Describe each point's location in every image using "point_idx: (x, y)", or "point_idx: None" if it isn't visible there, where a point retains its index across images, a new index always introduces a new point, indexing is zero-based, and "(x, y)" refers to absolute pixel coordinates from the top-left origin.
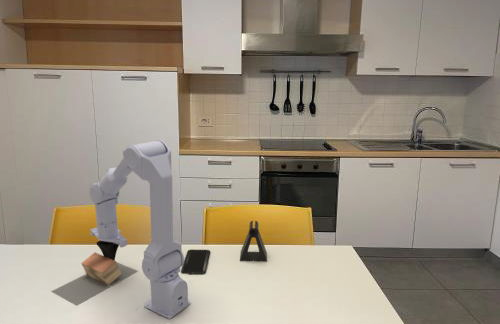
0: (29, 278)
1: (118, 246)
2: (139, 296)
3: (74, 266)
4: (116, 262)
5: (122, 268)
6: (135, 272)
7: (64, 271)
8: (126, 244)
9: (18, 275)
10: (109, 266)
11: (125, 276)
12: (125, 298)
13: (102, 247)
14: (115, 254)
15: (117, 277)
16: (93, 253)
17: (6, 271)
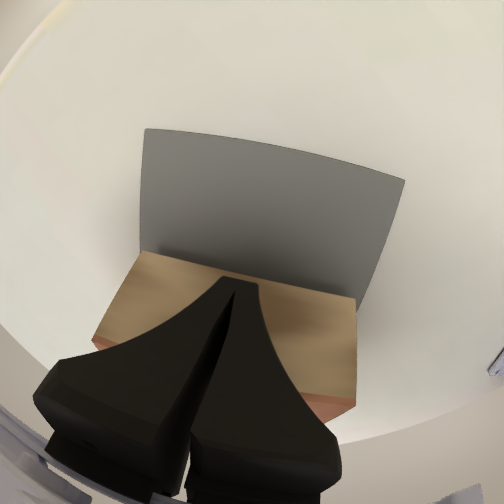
0: (50, 346)
1: (298, 391)
2: (469, 344)
3: (55, 257)
4: (355, 394)
5: (279, 184)
6: (396, 201)
7: (65, 298)
8: (475, 496)
9: (26, 337)
10: (328, 419)
11: (361, 261)
12: (426, 370)
13: (184, 464)
14: (264, 324)
15: (320, 283)
16: (97, 347)
17: (3, 325)
